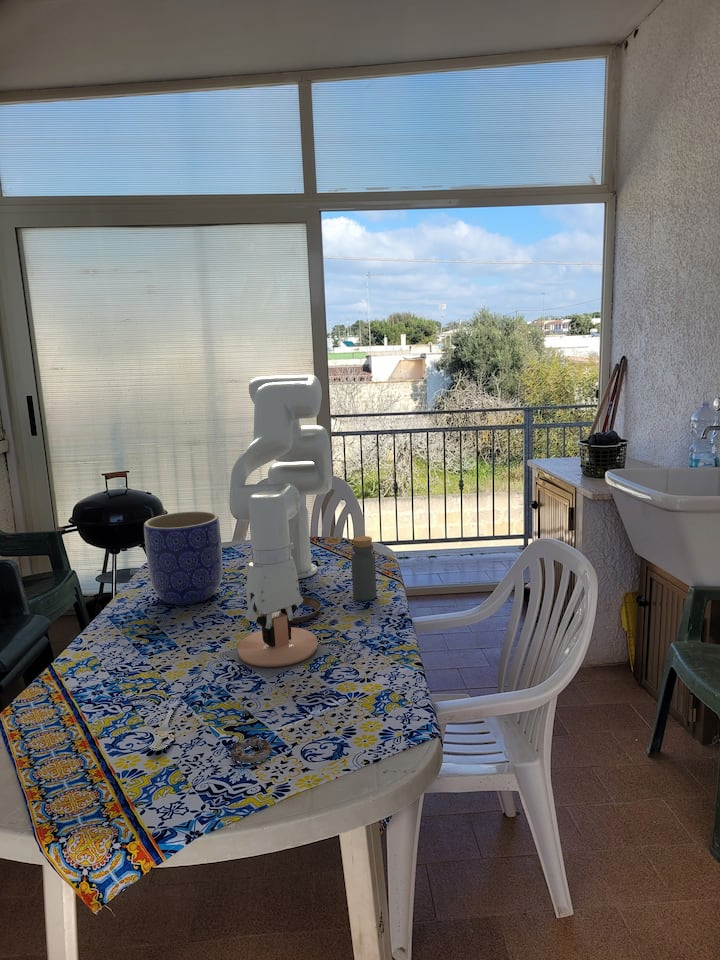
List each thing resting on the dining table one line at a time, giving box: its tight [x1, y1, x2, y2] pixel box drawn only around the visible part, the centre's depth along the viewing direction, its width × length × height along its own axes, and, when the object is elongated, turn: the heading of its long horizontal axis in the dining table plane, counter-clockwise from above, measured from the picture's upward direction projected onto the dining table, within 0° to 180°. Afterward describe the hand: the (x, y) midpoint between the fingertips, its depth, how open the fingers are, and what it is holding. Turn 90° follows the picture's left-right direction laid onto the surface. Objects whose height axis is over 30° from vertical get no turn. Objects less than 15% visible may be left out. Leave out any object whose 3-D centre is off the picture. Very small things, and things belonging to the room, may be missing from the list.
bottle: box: [350, 535, 378, 602], centre depth 161 cm, size 6×6×15 cm
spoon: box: [150, 711, 174, 752], centre depth 109 cm, size 4×21×2 cm, turn 6°
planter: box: [143, 510, 223, 606], centre depth 166 cm, size 18×18×21 cm
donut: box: [230, 735, 273, 763], centre depth 98 cm, size 8×8×2 cm
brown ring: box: [257, 595, 323, 625], centre depth 152 cm, size 15×15×3 cm
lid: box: [237, 610, 319, 667], centre depth 132 cm, size 16×16×7 cm
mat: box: [222, 643, 335, 680], centre depth 132 cm, size 16×16×1 cm
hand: (277, 640), depth 132 cm, fingers closed on lid, 3 cm apart
